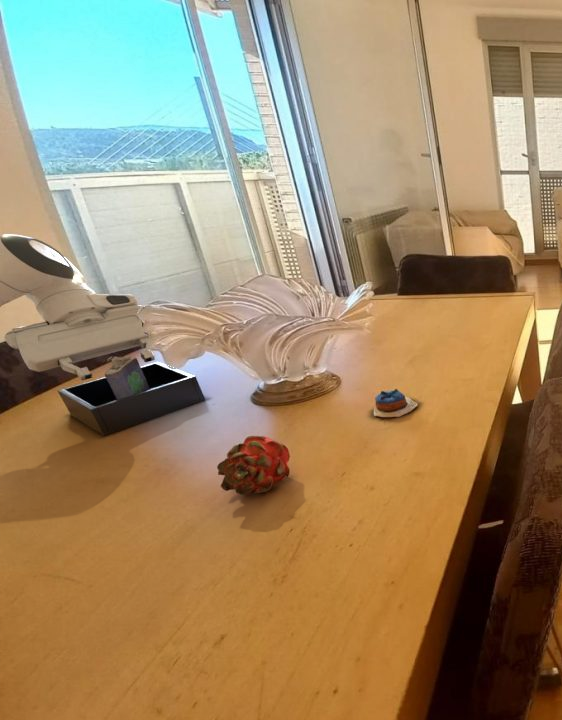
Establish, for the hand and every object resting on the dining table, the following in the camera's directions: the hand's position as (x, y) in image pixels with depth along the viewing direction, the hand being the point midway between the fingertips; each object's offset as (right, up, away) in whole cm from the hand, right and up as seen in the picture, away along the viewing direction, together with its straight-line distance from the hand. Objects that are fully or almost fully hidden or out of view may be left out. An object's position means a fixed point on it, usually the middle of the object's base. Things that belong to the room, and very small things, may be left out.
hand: (119, 368), depth 94 cm
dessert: (+55, -8, -1) cm, 56 cm away
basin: (+1, -8, +3) cm, 9 cm away
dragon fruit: (+45, -17, -22) cm, 53 cm away
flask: (+1, -8, +3) cm, 8 cm away
